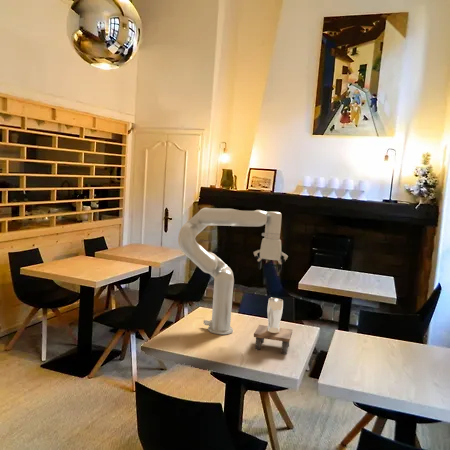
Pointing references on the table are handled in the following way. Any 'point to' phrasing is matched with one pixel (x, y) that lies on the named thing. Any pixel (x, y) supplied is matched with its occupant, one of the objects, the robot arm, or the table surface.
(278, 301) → the beer glass
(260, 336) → the peg shelf
